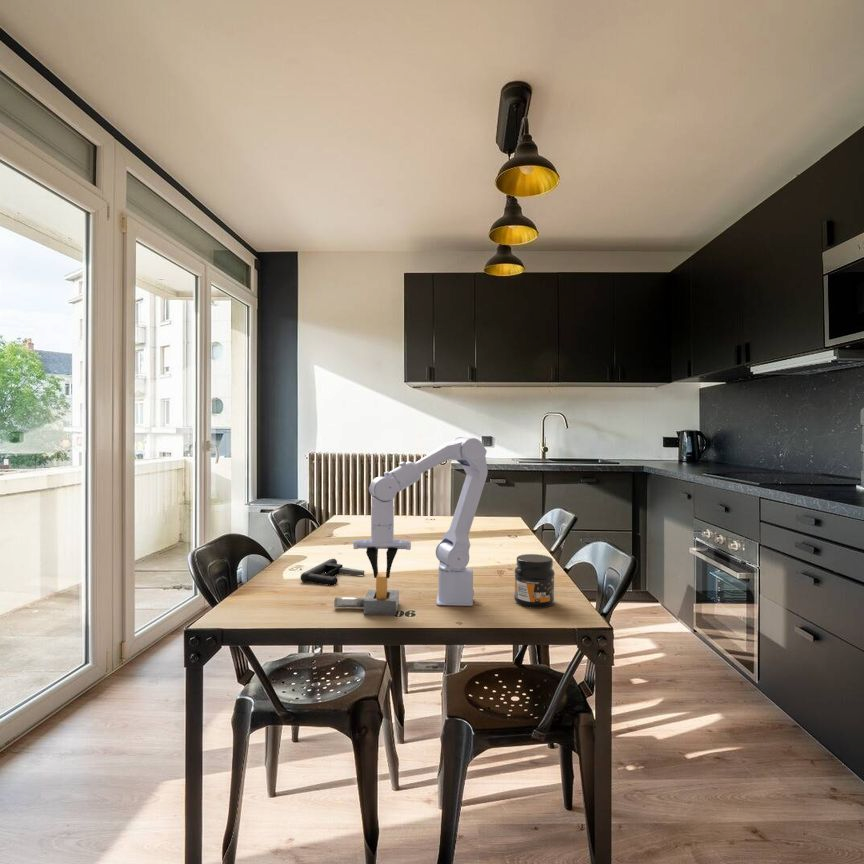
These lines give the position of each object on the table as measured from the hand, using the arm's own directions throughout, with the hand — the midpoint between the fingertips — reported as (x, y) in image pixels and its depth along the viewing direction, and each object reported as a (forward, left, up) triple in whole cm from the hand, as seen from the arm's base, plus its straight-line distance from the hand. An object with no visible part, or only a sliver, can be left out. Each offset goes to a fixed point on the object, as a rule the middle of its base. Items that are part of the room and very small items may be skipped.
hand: (382, 577), depth 142 cm
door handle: (+18, -30, -9) cm, 36 cm away
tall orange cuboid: (0, 0, -6) cm, 6 cm away
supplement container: (-40, -7, -8) cm, 41 cm away
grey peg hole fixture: (+4, 0, -8) cm, 9 cm away
